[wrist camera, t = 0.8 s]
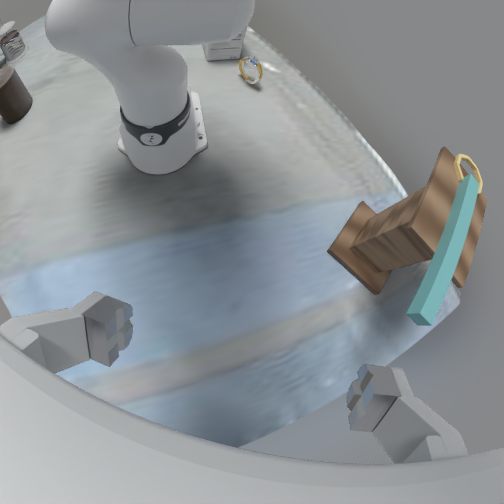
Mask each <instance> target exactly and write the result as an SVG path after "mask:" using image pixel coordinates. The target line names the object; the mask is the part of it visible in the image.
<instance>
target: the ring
mask: <svg viewBox="0 0 504 504" xmlns="http://www.w3.org/2000/svg"><path fill="white" fill-rule="evenodd" d="M251 59H252V60H251ZM244 62H246V63H248V64H249V65H251V66H252V67H253V68H254V69H255V71H256V80H255V81H252V80H250V78H249V77H247V75H246V74H245V71H244V68H243V64H244ZM259 62H260V61H259V59H258V58H256V57H255V56H254V57H252V56H248V57H245V58H243V59H241V60H239V69H240V72H241V74H242V76H243V78H244V79H245V81H246V82H248V83H250V84H255V83H258V82H259V81H260V80H261V78H262V68H261V65H260V63H259ZM256 66H257V67H256Z"/></svg>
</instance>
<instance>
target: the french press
mask: <svg viewBox="0 0 504 504" xmlns="http://www.w3.org/2000/svg"><path fill="white" fill-rule="evenodd" d="M0 21H1V20H0ZM14 24H15V22H14V21H10V22H8V23H6V24H4V25H3V26H1V27H0V36H2V35H3V34H5V33H6V32H7V31H9V30H10V29H11V28H12V27H13V26H14ZM6 34H7V33H6ZM15 37H17V38H16V39H14V40H12V41H10V40H11V39H13V38H15ZM8 41H9V42H8ZM6 42H7V43H6ZM10 42H12V43H10ZM17 42H19V43H17ZM5 43H6V44H8V43H10V44H8V45H7V46H5V45H6V44H5ZM15 43H17V44H15ZM0 44H1V45H0V47H1V49H2V51H3V53H2V54H3V55H4V56H5V58H6V59H7V60H6V64H12V63H14V62H16V61H17V60H19V59H20V58H21V57H22V56H23V55H24V54H25V53H26V52H27V50H28V48H29V46H28V45H24V42H23V40H22V38H21V36H20V34H19V32H17V30H13V31H11V32H10V33H8V34H7V35H6V36H4V37H3V38H2V39H1V41H0ZM3 44H5V45H4V46H3ZM12 44H15V45H13V46H11V45H12ZM19 44H20V45H19ZM17 45H19V46H17ZM15 46H17V47H15ZM13 47H15V48H13ZM9 48H10V49H9ZM8 49H9V50H8ZM0 56H2V55H1V54H0Z"/></svg>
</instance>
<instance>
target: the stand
mask: <svg viewBox="0 0 504 504" xmlns="http://www.w3.org/2000/svg"><path fill="white" fill-rule="evenodd" d="M454 162H455V157H454V156H453V155H452V154H451V153H450V152H449V150H448V149H447V148H446V147H443V148H442V149H441V150H440V153H439V155H438V158H437V161H436V163H435V166H434V168H433V171H432V173H431V176H430V178H429V181H428V183H427V185H426V186H425V187H424V188H422V189H420V190H418V191H417V192H415V193H413V194H412V195H410V196H408V197H406V198H405V199H403V200H401V201H399V202H398V203H396V204H394V205H392V206H391V207H389V208H387V209H385V210H384V211H382V212H380V213H378V214H376V213H375V212H374V211H373V210H372V209H371V208H370V207H369V206H368V205H367V204H366V203H365V202H364V201H362V202H361V203H359V205H358V206H357V208H356V209H355V211H354V212H353V214H352V215H351V217H350V218H349V220H348V221H347V223H346V224H345V226H344V227H343V229H342V230H341V232H340V233H339V235H338V236H337V237H336V239H335V240H334V242H333V243H332V245H331V246H330V248H329V249H328V251H327V252H328V253H329V254H331V255H332V256H333V257H334V258H335V259H336V260H337V261H338V262H340V263H341V264H342V265H343V266H344V267H345V268H346V269H347V270H349V271H350V272H351V273H352V274H353V275H354V276H355V277H356V278H357V279H359V280H360V281H361V282H362V283H363V284H364V285H365V286H366V287H367V288H368V289H369V290H371V291H372V292H373V293H374V294H379V293H380V291H381V289H382V287H383V286H384V284H385V282H386V280H387V279H388V277H389V275H390V273H391V271H392V269H396V268H400V267H404V266H408V265H412V264H415V263H419V262H423V261H427V260H431V259H432V258H433V256H434V253H435V251H436V248H437V246H438V243H439V241H440V238H441V236H442V233H443V230H444V228H445V225H446V222H447V220H448V217H449V214H450V211H451V208H452V205H453V202H454V199H455V196H456V192H457V189H458V186H459V180H458V177H457V174H456V171H455V168H454ZM460 168H461V171H462V174H463V177H465V176H467V175H469V174H468V173H467V172H466V171H465V169H464V168H463V167H462V166H461V164H460ZM486 203H487V198H486V197H485V196H484V194H483V193H482V192H481V193H480V194H478V195H477V198H476V203H475V207H474V211H473V215H472V218H471V222H470V226H469V229H468V232H467V236H466V239H465V242H464V245H463V249H462V252H461V255H460V257H459V260H458V263H457V266H456V269H455V271H454V274H453V277H452V279H451V280H452V281H453V283H454V284H455V285H456V286H457V288H461V287H463V286H464V283H465V280H466V277H467V274H468V271H469V268H470V265H471V262H472V258H473V255H474V252H475V249H476V245H477V241H478V238H479V234H480V230H481V225H482V222H483V217H484V213H485V208H486Z"/></svg>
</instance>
